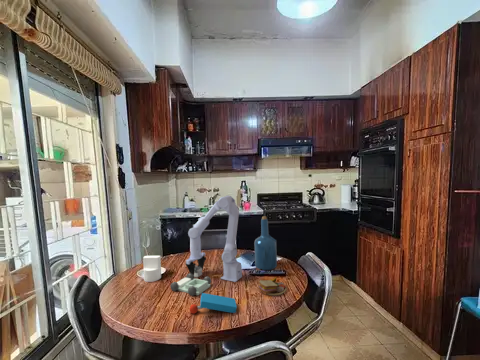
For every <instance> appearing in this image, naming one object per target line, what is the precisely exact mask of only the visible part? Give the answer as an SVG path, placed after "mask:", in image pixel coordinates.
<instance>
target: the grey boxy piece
mask: <svg viewBox="0 0 480 360" xmlns="http://www.w3.org/2000/svg"><path fill="white" fill-rule="evenodd" d="M202 275H203V270H202V268H201V267H200V266H198V264H197V265H195V270H194V278H199V277H200V276H202Z"/></svg>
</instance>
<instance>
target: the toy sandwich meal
mask: <svg viewBox="0 0 480 360" xmlns="http://www.w3.org/2000/svg"><path fill="white" fill-rule="evenodd" d="M277 279H278V277H277V276H275V277H274V278H271V279H268V280H262V279H261V280H259V281H258V290H259V291H260V292H261V293H263V294H265V295H267V296H271V297H273V296H276V297H277V296H282V295H283V294H284V293H286V291H287V286H286V285H285V283H284V282H282V281H281V282H280V281H279V282H277Z"/></svg>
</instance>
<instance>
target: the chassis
mask: <svg viewBox="0 0 480 360" xmlns="http://www.w3.org/2000/svg"><path fill="white" fill-rule="evenodd" d="M211 284H212V278H211V277H210V276H208V275H207V276H205V277H203V279H199V278H197V277H194V275H193V274H192V273H190V272H189V273H187V274H186V276H184V277H183V278H181V279H180V280H178V281H177V282H176V281H173V282H172V283H170V289H171V291H172V292H176V291H179V292H183V293H187V294H188V295H189V296H190V297H193V296H199V295H202V293H204V291H207V290H208V289H209V288H211Z"/></svg>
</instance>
